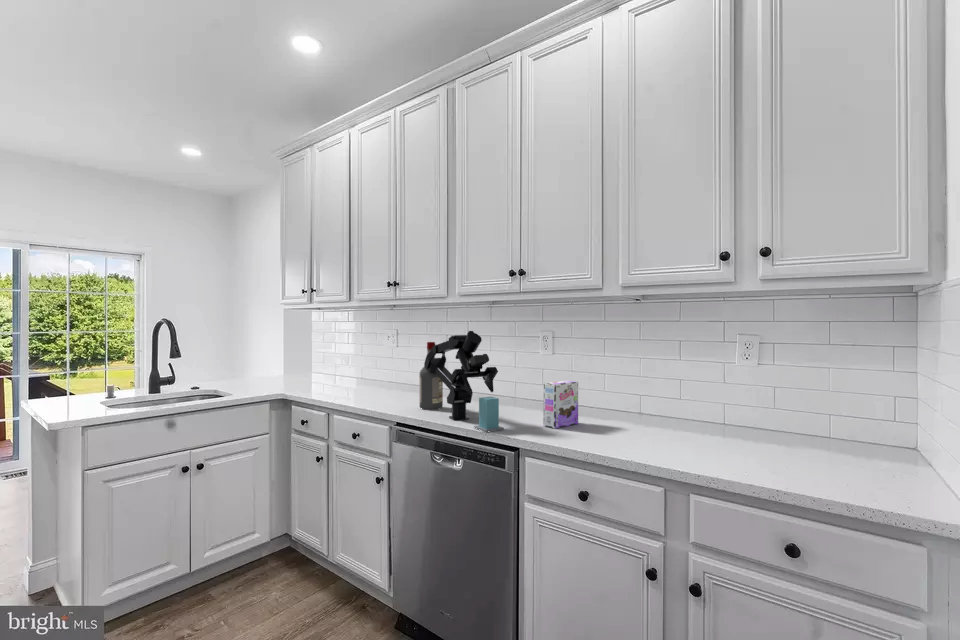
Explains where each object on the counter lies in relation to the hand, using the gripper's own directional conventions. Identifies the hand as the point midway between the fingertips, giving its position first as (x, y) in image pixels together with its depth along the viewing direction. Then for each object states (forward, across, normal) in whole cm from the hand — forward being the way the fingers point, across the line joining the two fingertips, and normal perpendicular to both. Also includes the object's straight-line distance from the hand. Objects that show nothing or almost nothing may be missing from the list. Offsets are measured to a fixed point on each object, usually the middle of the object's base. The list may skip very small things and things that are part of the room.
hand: (482, 392), depth 175 cm
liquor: (-22, +1, +41) cm, 47 cm away
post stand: (+12, 0, +6) cm, 13 cm away
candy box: (+18, +27, 0) cm, 33 cm away
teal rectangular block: (+12, 0, +5) cm, 13 cm away
